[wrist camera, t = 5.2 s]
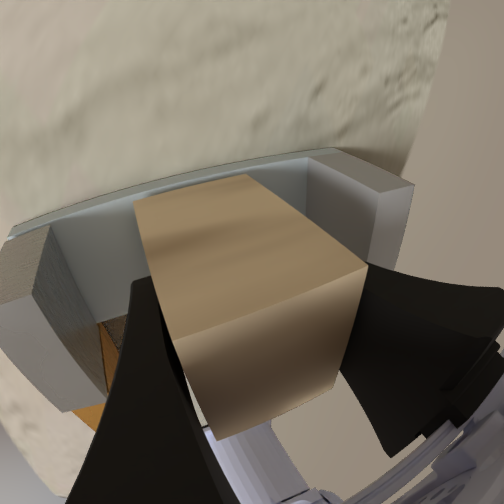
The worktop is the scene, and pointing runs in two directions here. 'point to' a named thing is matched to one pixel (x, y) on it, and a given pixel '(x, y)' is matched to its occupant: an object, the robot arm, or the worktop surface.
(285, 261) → the block
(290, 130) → the worktop surface
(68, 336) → the free jaw
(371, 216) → the vise
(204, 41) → the worktop surface
